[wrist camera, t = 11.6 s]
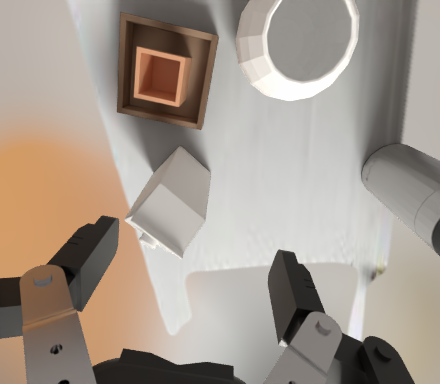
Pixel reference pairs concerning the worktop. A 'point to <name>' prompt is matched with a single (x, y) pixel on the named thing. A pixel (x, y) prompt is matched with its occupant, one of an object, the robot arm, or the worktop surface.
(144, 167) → the worktop surface
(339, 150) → the worktop surface
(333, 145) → the worktop surface
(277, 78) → the white round vase
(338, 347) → the robot arm
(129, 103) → the walnut crate
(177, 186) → the milk carton
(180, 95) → the terracotta crate
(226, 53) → the worktop surface
